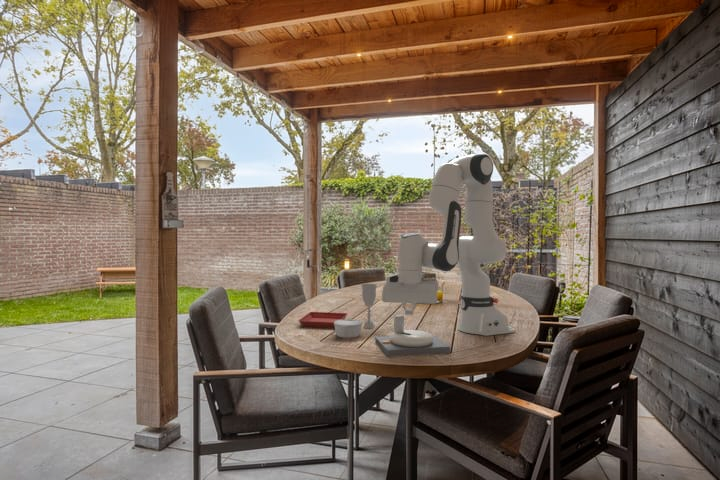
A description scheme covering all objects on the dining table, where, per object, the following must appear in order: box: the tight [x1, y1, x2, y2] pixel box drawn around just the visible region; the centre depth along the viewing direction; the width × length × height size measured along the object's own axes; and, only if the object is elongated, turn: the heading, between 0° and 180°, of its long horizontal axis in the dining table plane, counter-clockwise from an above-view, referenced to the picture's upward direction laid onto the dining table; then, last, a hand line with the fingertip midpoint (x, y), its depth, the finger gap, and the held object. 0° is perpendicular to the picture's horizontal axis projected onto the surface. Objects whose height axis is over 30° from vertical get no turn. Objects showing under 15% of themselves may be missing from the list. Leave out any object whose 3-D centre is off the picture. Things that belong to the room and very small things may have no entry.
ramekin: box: [334, 318, 363, 339], centre depth 162 cm, size 11×11×5 cm
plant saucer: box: [298, 311, 348, 329], centre depth 182 cm, size 18×18×3 cm
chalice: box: [360, 283, 378, 329], centre depth 175 cm, size 7×7×18 cm
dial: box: [389, 314, 434, 347], centre depth 145 cm, size 15×15×8 cm
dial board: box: [374, 334, 451, 357], centre depth 146 cm, size 22×17×3 cm
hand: (408, 315), depth 150 cm, fingers closed
